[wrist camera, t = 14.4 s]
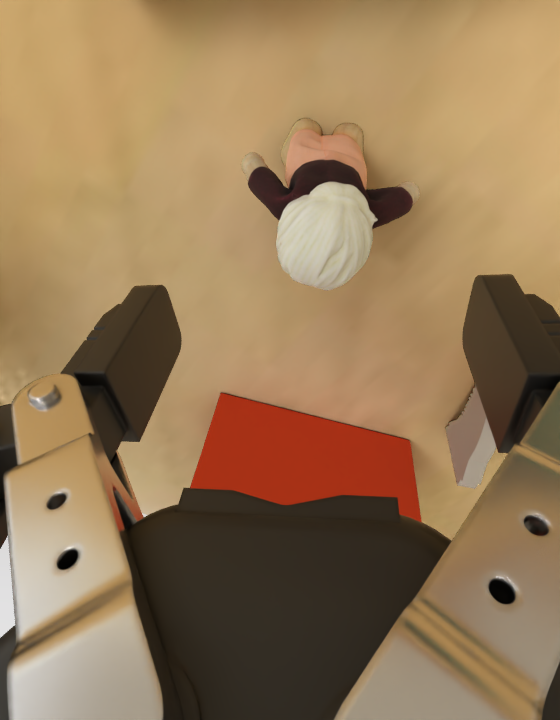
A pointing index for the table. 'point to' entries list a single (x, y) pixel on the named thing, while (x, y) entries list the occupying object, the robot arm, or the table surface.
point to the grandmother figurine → (325, 203)
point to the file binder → (302, 457)
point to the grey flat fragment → (470, 443)
